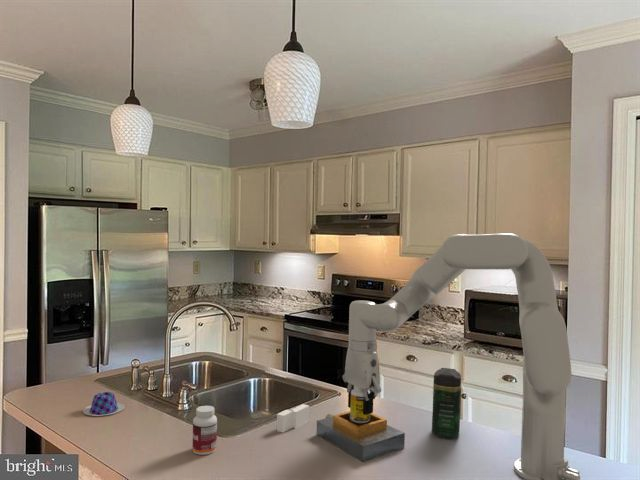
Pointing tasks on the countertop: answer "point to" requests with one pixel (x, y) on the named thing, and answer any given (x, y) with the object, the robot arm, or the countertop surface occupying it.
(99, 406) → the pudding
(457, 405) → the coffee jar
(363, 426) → the grey bottle holder
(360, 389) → the supplement bottle
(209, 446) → the pill bottle
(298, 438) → the countertop surface
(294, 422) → the white angular block
